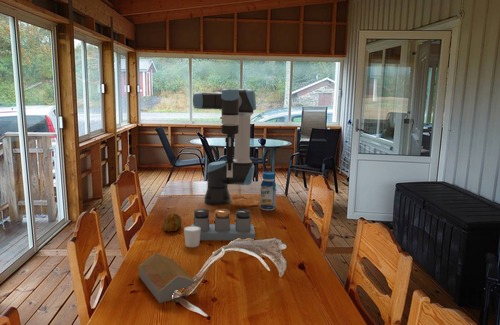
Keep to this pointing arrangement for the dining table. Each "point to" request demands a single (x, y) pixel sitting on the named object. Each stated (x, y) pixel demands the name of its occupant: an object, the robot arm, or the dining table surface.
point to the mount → (225, 229)
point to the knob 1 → (201, 213)
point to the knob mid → (222, 213)
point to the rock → (172, 222)
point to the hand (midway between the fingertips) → (229, 177)
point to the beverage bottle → (268, 191)
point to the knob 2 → (243, 213)
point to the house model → (163, 264)
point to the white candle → (192, 236)
